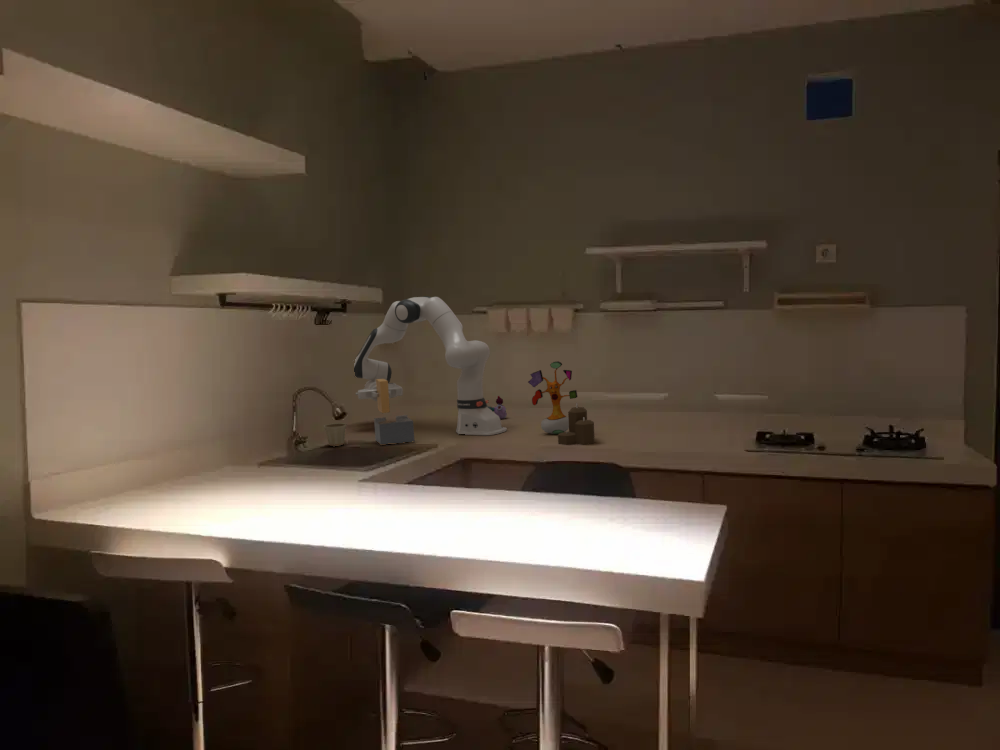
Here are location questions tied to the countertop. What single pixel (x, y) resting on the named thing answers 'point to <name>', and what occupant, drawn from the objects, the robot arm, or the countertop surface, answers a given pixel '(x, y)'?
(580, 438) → the candle
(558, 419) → the decorative sculpture
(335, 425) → the flower pot
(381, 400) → the tan rectangular block
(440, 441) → the countertop surface
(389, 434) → the block
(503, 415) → the toy
